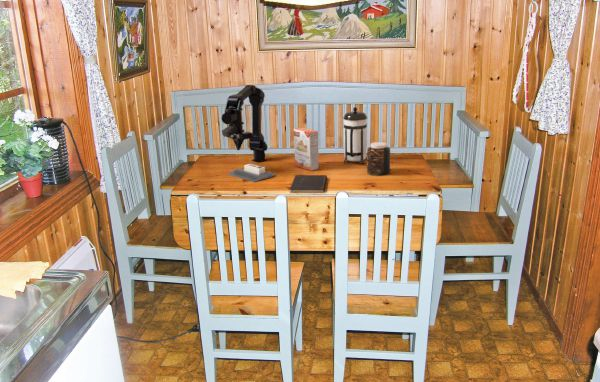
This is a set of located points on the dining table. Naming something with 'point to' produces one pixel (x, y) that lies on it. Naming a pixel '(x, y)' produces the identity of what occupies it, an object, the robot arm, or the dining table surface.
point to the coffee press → (355, 136)
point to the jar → (378, 159)
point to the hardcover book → (308, 184)
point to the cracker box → (306, 148)
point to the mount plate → (250, 175)
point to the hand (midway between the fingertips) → (238, 150)
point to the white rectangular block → (254, 169)
